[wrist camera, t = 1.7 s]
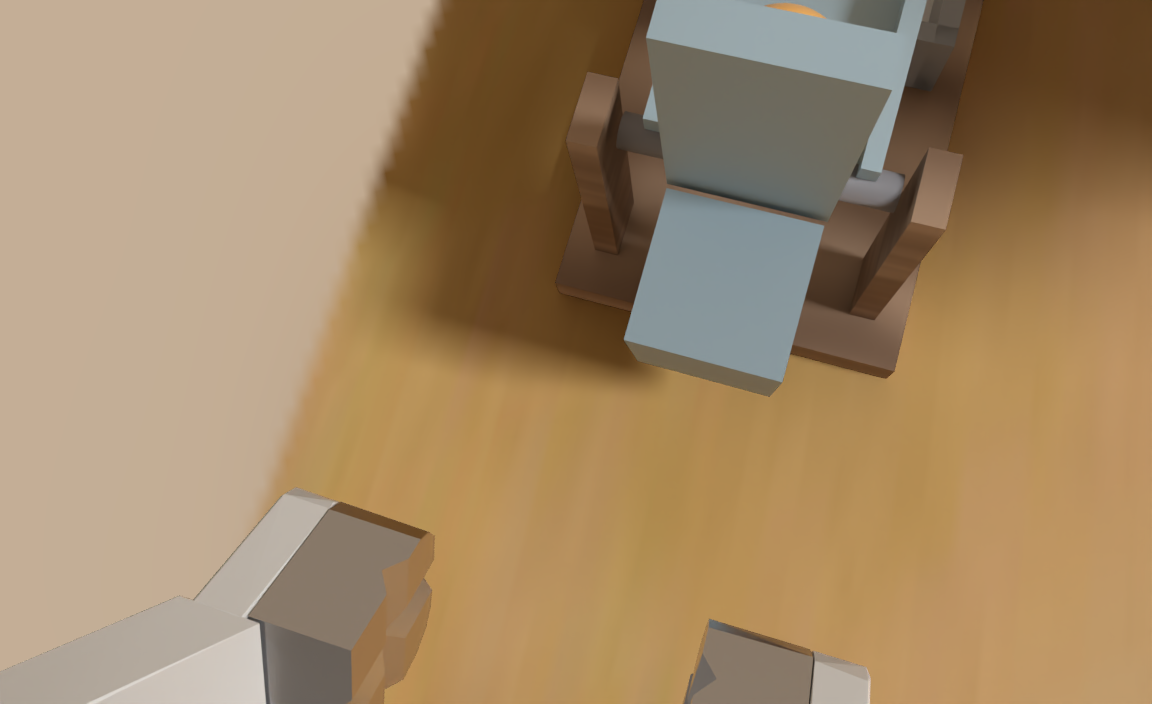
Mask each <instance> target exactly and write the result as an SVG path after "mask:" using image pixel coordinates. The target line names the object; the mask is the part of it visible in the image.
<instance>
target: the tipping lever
mask: <svg viewBox="0 0 1152 704" xmlns="http://www.w3.org/2000/svg"><path fill="white" fill-rule="evenodd" d="M926 2H927V0H657V1H656V4H655V8H654V11H653V15H652V18H651V22H650V25H649V29H648V32H647V36H646V42H647V49H648V56H649V63H650V70H651V77H652V88H651V91H650V94H649V98H648V101H647V105H646V108H645V112H644V115H641V114H637V113H632V112H628V111H625V112H624V114H623V116H622V118H621V121H620V125H619V129H618V134H617V141H616V147H617V149H621V150H625V151H630V152H634V153H638V154H643V155H647V156H651V157H655V158H660V159H663V160H664V167H665V174H666V181H667V184H670V185H674V186H678V187H682V188H686V189H691V190H695V191H699V192H703V193H707V194H712V195H716V196H720V197H724V198H728V199H733V200H737V201H741V202H745V203H749V204H754V205H758V206H762V207H766V208H770V209H775V210H779V211H783V212H787V213H791V214H795V215H800V216H804V217H808V218H812V219H816V220H821V221H825V222H828V220H829V218H830V216H831V214H832V212H833V210H834V208H835V206H836V204H837V202H838V200H839V201H843V202H847V203H852V204H856V205H860V206H864V207H869V208H873V209H877V210H882V211H886V212H890V213H894V212H895V210H896V207H897V205H898V202H899V199H900V196H901V193H902V189H903V186H904V181H905V174H901V173H896V172H892V171H888V170H883V165H884V161H885V157H886V153H887V150H888V146H889V142H890V138H891V135H892V131H893V127H894V123H895V119H896V116H897V112H898V108H899V104H900V101H901V97H902V93H903V89H904V85H905V82H906V78H907V74H908V70H909V66H910V63H911V59H912V55H913V51H914V48H915V44H916V40H917V36H918V32H919V29H920V25H921V21H922V17H923V14H924V10H925V6H926ZM774 3H793V4H798V5H802V6H806V7H808V8H811V9H813V10H815V11H817V12H818V13H820V14H821V15H823V16H824V17H825V18H827V19H825V18H820V17H815V16H810V15H805V14H801V13H796V12H791V11H786V10H781V9H776V8H771V7H766V6H765V5H768V4H774ZM823 229H824V226H823V225H819V224H815V223H811V222H807V221H803V220H798V219H794V218H790V217H786V216H782V215H777V214H773V213H769V212H765V211H761V210H757V209H752V208H748V207H744V206H740V205H736V204H732V203H727V202H723V201H719V200H715V199H711V198H706V197H702V196H698V195H694V194H690V193H686V192H681V191H677V190H673V189H669V188H666V192H665V195H664V199H663V203H662V206H661V210H660V213H659V217H658V220H657V224H656V227H655V231H654V234H653V238H652V241H651V245H650V248H649V252H648V256H647V259H646V263H645V266H644V270H643V273H642V277H641V280H640V284H639V287H638V291H637V294H636V298H635V302H634V305H633V309H632V312H631V316H630V319H629V323H628V326H627V330H626V333H625V337H624V341H625V343H626V344H627V346H628V347H629V349H630V350H631V352H632V353H633V355H634V356H635V358H636V359H637V361H640V362H643V363H647V364H651V365H654V366H658V367H662V368H665V369H669V370H673V371H677V372H680V373H684V374H688V375H691V376H695V377H699V378H702V379H706V380H710V381H713V382H717V383H721V384H724V385H728V386H732V387H735V388H739V389H743V390H747V391H750V392H754V393H758V394H761V395H765V396H769V397H770V396H771V395H772V393H773V392H774V391H775V390H776V389H777V388H778V387H779V386H780V384H781V383H782V382H783V378H784V374H785V370H786V367H787V363H788V359H789V355H790V352H791V348H792V344H793V341H794V337H795V333H796V329H797V326H798V322H799V318H800V314H801V311H802V307H803V303H804V300H805V296H806V292H807V288H808V285H809V281H810V277H811V273H812V270H813V266H814V262H815V259H816V255H817V251H818V247H819V244H820V240H821V236H822V233H823Z"/></svg>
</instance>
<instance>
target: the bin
mask: <svg viewBox="0 0 1152 704" xmlns="http://www.w3.org/2000/svg"><path fill="white" fill-rule="evenodd" d="M965 2H966V0H927V2H926V6H925V10H924V14H923V17H922V21H921V25H920V29H919V32H918V36H917V40H916V44H915V48H914V51H913V55H912V59H911V63H910V66H909V70H908V74H907V78H906V82H905V85H904V86H907V87H912V88H917V89H921V90H926V91H931V90H932V89H933V87H934V85H935V83H936V81H937V79H938V77H939V75H940V73H941V71H942V70H943V68H944V66H945V64H946V62H947V60H948V58H949V56H950V54H951V52H952V51H953V49H954V47H955V43H956V38H957V34H958V30H959V26H960V22H961V18H962V14H963V10H964V6H965Z"/></svg>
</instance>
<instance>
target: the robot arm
mask: <svg viewBox="0 0 1152 704" xmlns="http://www.w3.org/2000/svg"><path fill="white" fill-rule="evenodd" d="M434 541H435V536H434V535H433V534H431V533H430V532H427V531H424V530H422V529H419V528H416V527H413V526H410V525H407V524H404V523H401V522H398V521H395V520H392V519H390V518H387V517H384V516H381V515H378V514H375V513H372V512H369V511H366V510H363V509H360V508H358V507H355V506H352V505H349V504H346V503H343V502H338V501H335V500H332V499H329V498H326V497H323V496H320V495H317V494H314V493H311V492H309V491H306V490H303V489H300V488H297V487H296V488H294V489H292V490H291V491H289V492H287V493H285V494H284V495H282V496H281V497H280V498H279V499H278V500H277V501H276V503H275V504H274V505H273V506H272V507H271V508H270V510H269V511H268V512H267V513H266V514H265V516H264V517H263V518H262V519H261V520H260V521H259V523H258V524H257V525H256V526H255V527H254V529H253V530H252V531H251V532H250V533H249V534H248V536H247V537H246V538H245V539H244V540H243V542H242V543H241V544H240V545H239V546H238V547H237V549H236V550H235V551H234V552H233V553H232V555H231V556H230V557H229V558H228V559H227V560H226V562H225V563H224V564H223V565H222V566H221V568H220V569H219V570H218V571H217V572H216V573H215V575H214V576H213V577H212V578H211V579H210V581H209V582H208V583H207V584H206V585H205V586H204V588H203V589H202V590H201V591H200V593H199V594H198V595H197V596H196V597H195V598H194V599H193V600H192V599H189V598H185V597H183V596H177V597H175V598H173V599H170V600H168V601H165V602H163V603H161V604H158V605H156V606H154V607H151V608H149V609H147V610H144V611H142V612H140V613H137V614H135V615H132V616H130V617H128V618H126V619H123V620H121V621H118V622H116V623H114V624H111V625H109V626H106V627H104V628H102V629H100V630H97V631H95V632H92V633H90V634H88V635H86V636H83V637H81V638H78V639H76V640H73V641H71V642H69V643H66V644H64V645H62V646H59V647H57V648H55V649H52V650H50V651H47V652H45V653H43V654H40V655H38V656H36V657H33V658H31V659H29V660H26V661H24V662H22V663H19V664H17V665H14V666H12V667H10V668H8V669H5V670H3V671H1V672H0V704H384V690H385V689H387V688H388V687H390V686H392V685H394V684H396V683H398V682H399V681H401V680H403V679H404V677H405V675H406V673H407V671H408V669H409V668H410V666H411V664H412V662H413V660H414V658H415V656H416V653H417V651H418V648H419V645H420V643H421V640H422V637H423V635H424V632H425V629H426V626H427V621H428V617H429V612H430V608H431V596H432V590H431V588H430V586H429V585H428V583H427V582H426V580H425V579H424V576H425V574H426V573H427V571H428V569H429V567H430V566H431V564H432V562H433V560H434ZM683 704H870V675H869V673H868V670H867V668H866V667H864V666H861V665H857V664H854V663H851V662H848V661H845V660H841V659H838V658H835V657H832V656H828V655H825V654H822V653H819V652H815V651H813V652H811V651H810V649H807V648H804V647H801V646H797V645H794V644H791V643H787V642H784V641H781V640H777V639H774V638H771V637H768V636H764V635H761V634H758V633H754V632H751V631H748V630H744V629H741V628H738V627H734V626H731V625H728V624H725V623H721V622H718V621H715V620H711V619H709V621H708V623H707V626H706V628H705V631H704V635H703V638H702V641H701V644H700V648H699V652H698V656H697V660H696V665H695V669H694V673H693V674H691V676H690V679H689V683H688V686H687V690H686V693H685V697H684V700H683Z"/></svg>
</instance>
